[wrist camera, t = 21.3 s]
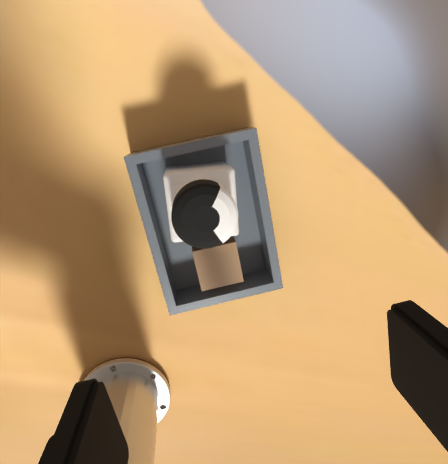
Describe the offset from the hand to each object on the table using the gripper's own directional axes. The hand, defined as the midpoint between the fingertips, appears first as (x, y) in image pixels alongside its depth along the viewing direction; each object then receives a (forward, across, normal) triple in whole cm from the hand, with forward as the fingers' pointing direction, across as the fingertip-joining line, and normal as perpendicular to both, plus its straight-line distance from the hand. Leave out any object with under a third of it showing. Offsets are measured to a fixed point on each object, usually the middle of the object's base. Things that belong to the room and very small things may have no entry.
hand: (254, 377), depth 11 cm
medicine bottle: (+33, 0, 0) cm, 33 cm away
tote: (+33, 0, +4) cm, 33 cm away
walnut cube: (+32, 0, +8) cm, 33 cm away
